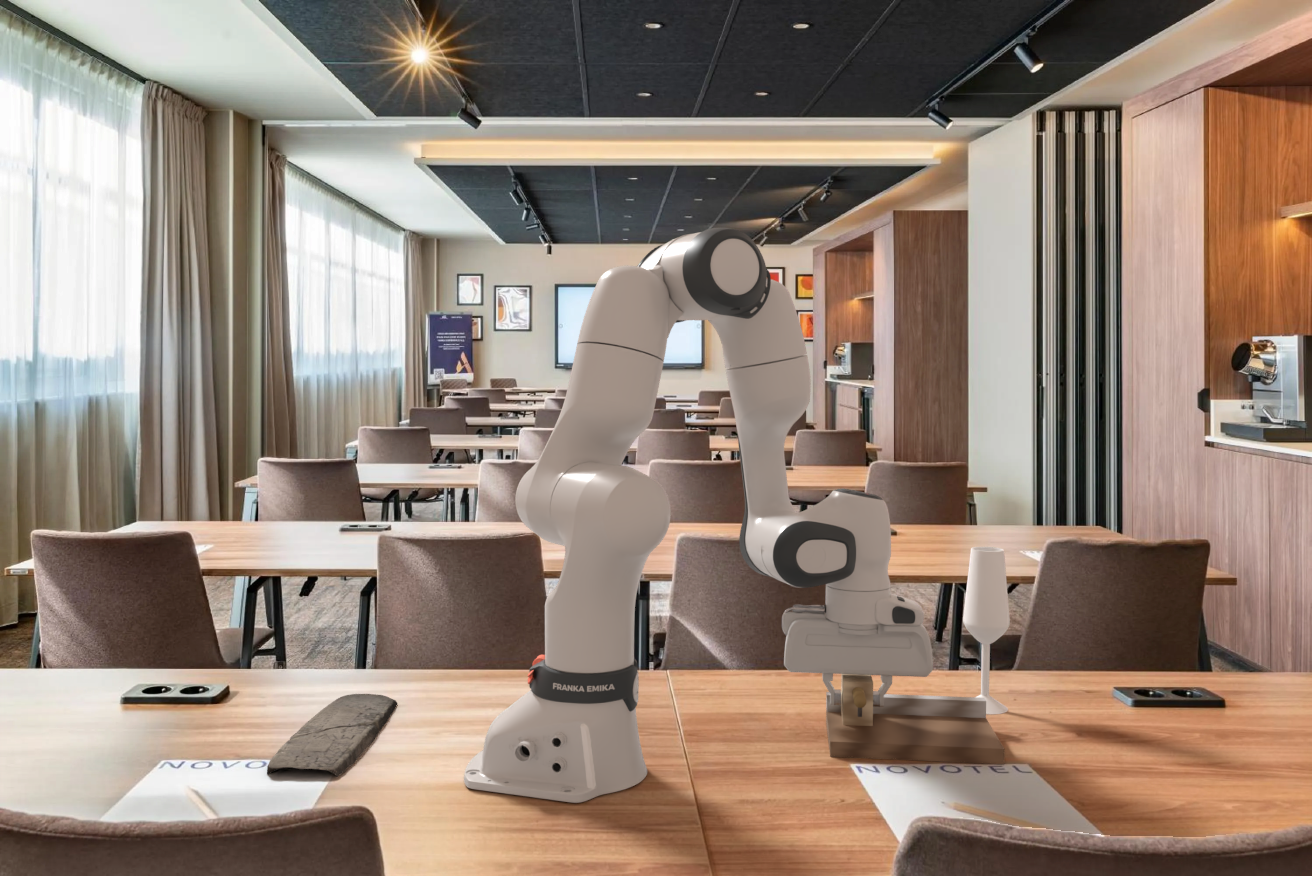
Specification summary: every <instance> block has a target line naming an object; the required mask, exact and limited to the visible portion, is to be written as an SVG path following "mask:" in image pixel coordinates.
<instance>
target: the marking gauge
mask: <svg viewBox="0 0 1312 876" xmlns="http://www.w3.org/2000/svg"><path fill="white" fill-rule="evenodd" d="M840 675H841V679H840V681H841V687H840V688H841V689H840V690H841V716H842V722H843V725H858V726H873V691H874V681H873V680H874V679H873V677H872V675H858V674H840Z"/></svg>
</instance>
